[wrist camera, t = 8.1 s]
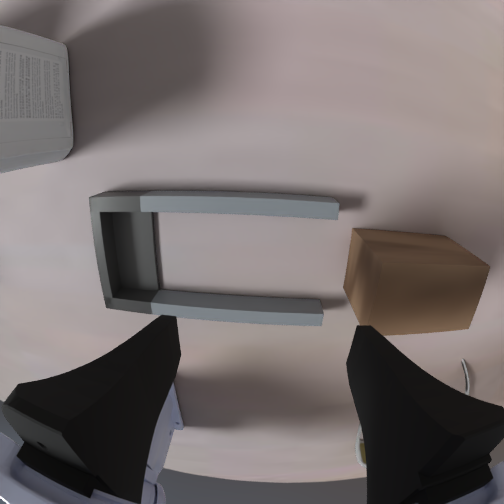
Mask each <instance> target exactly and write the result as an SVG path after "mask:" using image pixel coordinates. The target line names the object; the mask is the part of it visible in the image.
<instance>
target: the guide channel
mask: <svg viewBox="0 0 504 504" xmlns="http://www.w3.org/2000/svg"><path fill="white" fill-rule="evenodd" d="M89 204H90V214H91V223H92V231H93V239H94V246H95V252H96V258H97V264H98V270H99V275H100V281H101V286H102V291H103V295H104V300H105V304H106V308H110V309H117V310H123V311H131V312H138V313H146V314H154V315H171V316H176V317H180V318H190V319H200V320H212V321H224V322H238V323H254V324H273V325H299V326H322V321H323V315H324V313H323V310H322V306H321V303H320V299H296V298H274V297H255V296H238V295H223V294H209V293H195V292H183V291H172V290H161V289H160V288H159V279H158V270H157V260H156V249H155V236H154V222H153V212H182V213H217V214H243V215H265V216H283V217H300V218H316V219H331V220H338V213H339V204H340V203H338V202H337V201H336V200H335V199H334V198H333V197H322V196H309V195H294V194H277V193H257V192H230V191H118V192H102V193H100V194H97V195H94V196H92V197H89Z"/></svg>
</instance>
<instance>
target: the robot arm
mask: <svg viewBox="0 0 504 504" xmlns="http://www.w3.org/2000/svg"><path fill="white" fill-rule="evenodd" d="M180 357H181V350H180V343H179V335H178V327H177V319H176V316H171V315H161V316H159V317H158V318H156V319H155V320H154V321H152V322H151V323H150V324H149V325H147V326H146V327H145V328H143V329H142V330H141V331H139V332H138V333H137V334H135V335H134V336H132V337H131V338H130V339H128V340H127V341H125V342H124V343H122V344H121V345H119V346H118V347H116V348H115V349H113V350H112V351H110V352H109V353H107V354H105V355H103V356H102V357H100V358H98V359H96V360H94V361H92V362H90V363H88V364H86V365H83V366H81V367H79V368H76V369H74V370H71V371H69V372H66V373H63V374H60V375H57V376H54V377H50V378H47V379H42V380H38V381H32V382H27V383H21V384H18V385H17V386H16V388H15V389H14V390H13V391H12V393H11V394H10V395H9V397H8V398H7V399H6V401H5V402H4V403H3V405H2V412H3V414H4V416H5V418H6V419H7V421H8V422H9V423H10V425H11V426H12V427H13V428H14V430H15V431H16V432H17V434H19V436H20V437H21V438H22V440H23V441H24V444H23V446H22V447H21V446H20V445H18V444H17V443H16V442H15V441H13V440H12V439H10V438H9V437H7V436H6V435H4V434H3V433H1V432H0V498H1V499H3V500H4V501H5V502H6V503H7V504H166V497H165V493H164V491H163V488H162V486H161V485H160V484H159V483H157V482H156V480H157V477H158V474H159V472H160V471H161V470H162V468H163V466H164V463H165V459H166V456H167V452H168V449H169V446H170V442H171V439H172V436H173V432H174V429H176V430H183V428H184V425H183V421H182V417H181V413H180V409H179V404H178V400H177V396H176V391H175V386H174V382H173V381H174V379H175V376H176V373H177V369H178V365H179V361H180ZM346 365H347V373H348V379H349V385H350V389H351V392H352V396H353V399H354V403H355V406H356V410H357V413H358V417H359V420H360V424H361V428H362V433H363V439H364V447H365V456H366V469H367V504H504V461H502V462H500V463H498V464H497V465H495V466H494V467H492V468H491V469H490V468H489V466H488V463H490V462H491V460H492V459H491V457H490V455H489V453H490V452H491V451H492V450H493V449H494V448H495V447H496V446H497V445H498V444H499V443H500V442H501V440H502V439H503V438H504V408H503V407H502V406H498V405H495V404H491V403H488V402H484V401H481V400H478V399H476V398H473V397H471V396H468V395H466V394H464V393H461V392H459V391H457V390H455V389H453V388H452V387H450V386H448V385H446V384H444V383H442V382H441V381H439V380H437V379H436V378H434V377H433V376H431V375H430V374H428V373H427V372H425V371H424V370H423V369H421V368H420V367H419V366H417V365H416V364H415V363H414V362H412V361H411V360H410V359H409V358H407V357H406V356H405V355H404V354H403V353H401V352H400V351H399V350H398V349H397V348H396V347H395V346H394V345H392V344H391V343H390V342H389V341H388V340H387V339H386V338H385V337H384V336H383V335H381V334H380V333H379V332H378V331H377V330H376V329H375V328H373V327H372V326H371V325H357V327H356V331H355V335H354V338H353V342H352V345H351V349H350V352H349V356H348V359H347V362H346Z"/></svg>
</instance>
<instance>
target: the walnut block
mask: <svg viewBox="0 0 504 504" xmlns="http://www.w3.org/2000/svg"><path fill="white" fill-rule="evenodd" d="M489 269H490V266H489V265H488V264H486V263H485V262H483V261H482V260H481V259H479V258H478V257H476V256H475V255H473V254H472V253H471V252H469V251H468V250H466V249H465V248H463V247H462V246H460V245H459V244H457V243H456V242H454V241H453V240H451V239H450V238H448V237H446V236H441V235H431V234H420V233H408V232H396V231H383V230H370V229H356V228H352V236H351V243H350V250H349V256H348V263H347V269H346V275H345V281H344V286H343V288H344V290H345V292H346V295H347V297H348V299H349V301H350V303H351V306H352V308H353V310H354V312H355V315H356V317H357V319H358V321H359V324H360V325H371V326H372V327H373V328H375V329H376V330H377V331H378V332H379V333H380V334H381V335H383V336H385V335H405V334H420V333H432V332H444V331H454V330H463V329H469V326H470V324H471V321H472V319H473V316H474V314H475V311H476V308H477V306H478V303H479V300H480V297H481V295H482V292H483V289H484V286H485V283H486V279H487V276H488V273H489Z"/></svg>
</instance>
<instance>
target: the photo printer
mask: <svg viewBox="0 0 504 504" xmlns="http://www.w3.org/2000/svg"><path fill="white" fill-rule="evenodd" d="M72 147H73V124H72V113H71V100H70V85H69V63H68V52H67V47H66V46H65V45H64V44H62V43H60V42H57V41H54V40H51V39H48V38H45V37H42V36H39V35H35V34H32V33H28V32H25V31H22V30H18V29H14V28H11V27H7V26H3V25H0V173H5V172H9V171H13V170H18V169H23V168H28V167H33V166H38V165H43V164H48V163H54V162H58V161H61V160H62V159H64V158H65V157H66V156H67V155H68V153H69V152H70V150H71V149H72Z"/></svg>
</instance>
